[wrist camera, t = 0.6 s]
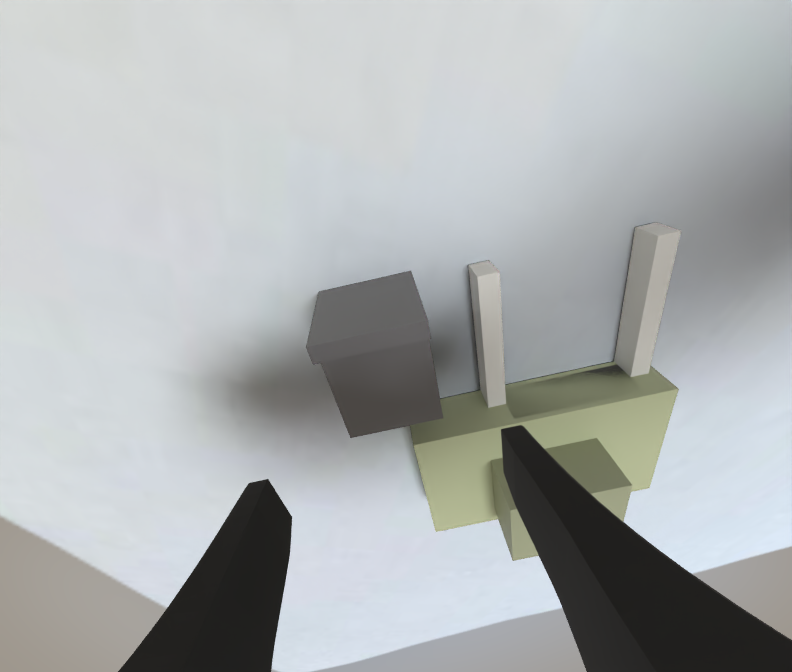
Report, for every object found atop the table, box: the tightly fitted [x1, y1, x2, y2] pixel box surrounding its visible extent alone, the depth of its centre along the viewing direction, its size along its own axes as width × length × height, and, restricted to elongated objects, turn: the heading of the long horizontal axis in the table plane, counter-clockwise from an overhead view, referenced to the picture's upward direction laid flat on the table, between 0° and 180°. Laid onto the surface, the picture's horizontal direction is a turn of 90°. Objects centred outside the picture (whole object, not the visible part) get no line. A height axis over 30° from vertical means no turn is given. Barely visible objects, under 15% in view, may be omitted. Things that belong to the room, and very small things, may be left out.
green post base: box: [410, 222, 681, 561], centre depth 19 cm, size 14×16×6 cm
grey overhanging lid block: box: [306, 271, 443, 438], centre depth 16 cm, size 4×6×5 cm
